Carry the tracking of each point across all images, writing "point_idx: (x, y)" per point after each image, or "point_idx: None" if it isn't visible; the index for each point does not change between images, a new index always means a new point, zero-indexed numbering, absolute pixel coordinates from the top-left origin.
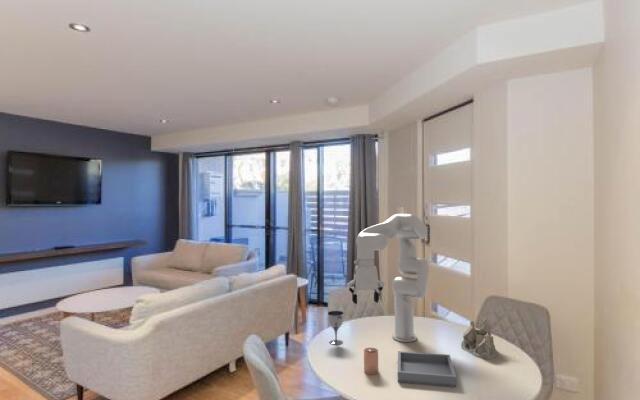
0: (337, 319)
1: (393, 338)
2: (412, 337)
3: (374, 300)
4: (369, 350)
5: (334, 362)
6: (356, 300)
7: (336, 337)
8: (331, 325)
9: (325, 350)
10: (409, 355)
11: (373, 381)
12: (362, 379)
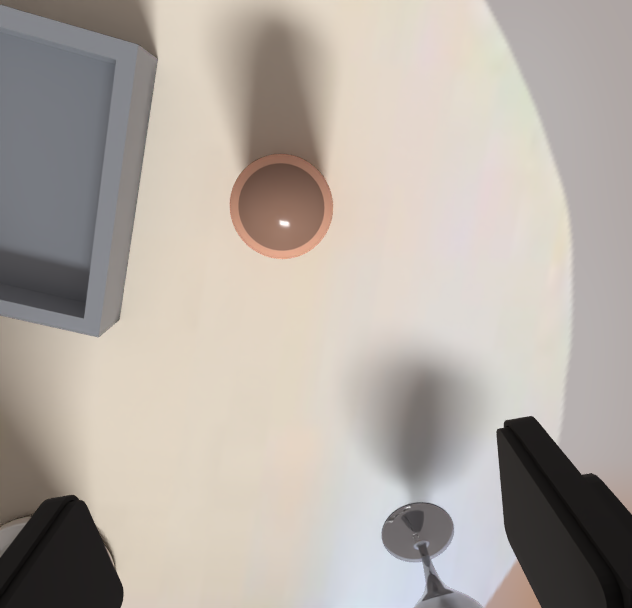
0: None
1: (110, 556)
2: (1, 550)
3: (111, 588)
4: (292, 204)
5: (465, 315)
6: (542, 460)
7: (423, 552)
8: (479, 603)
9: (487, 450)
10: (39, 302)
11: (292, 80)
12: (349, 109)
